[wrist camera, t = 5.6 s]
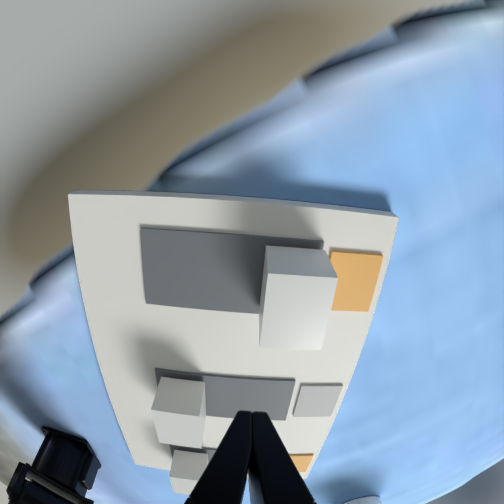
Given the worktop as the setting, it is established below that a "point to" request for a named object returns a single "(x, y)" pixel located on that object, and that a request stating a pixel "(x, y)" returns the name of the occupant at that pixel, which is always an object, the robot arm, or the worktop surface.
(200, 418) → the middle slider
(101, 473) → the worktop surface
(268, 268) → the near slider
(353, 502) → the white cup
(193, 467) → the block
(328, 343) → the switch unit
